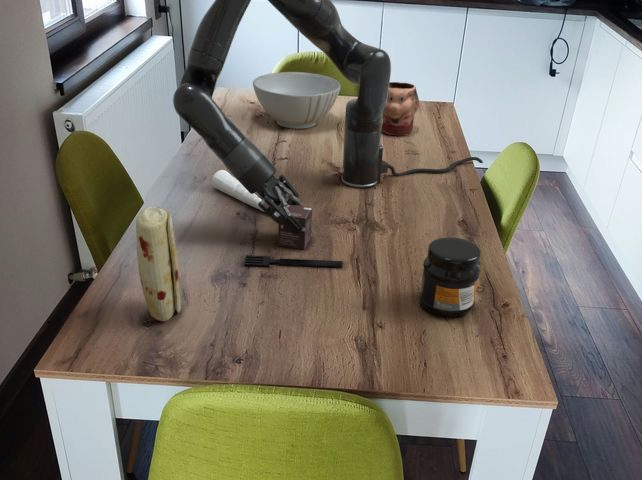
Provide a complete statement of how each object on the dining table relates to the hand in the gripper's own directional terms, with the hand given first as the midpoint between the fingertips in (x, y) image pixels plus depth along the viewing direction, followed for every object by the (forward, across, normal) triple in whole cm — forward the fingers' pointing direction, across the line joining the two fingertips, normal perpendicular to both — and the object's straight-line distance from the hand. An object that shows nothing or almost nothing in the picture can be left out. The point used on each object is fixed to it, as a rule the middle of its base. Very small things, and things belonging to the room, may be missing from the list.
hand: (303, 224), depth 151 cm
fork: (+3, -10, +3) cm, 11 cm away
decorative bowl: (-11, +81, +18) cm, 84 cm away
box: (+2, 0, +4) cm, 5 cm away
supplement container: (+26, -18, -20) cm, 37 cm away
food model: (-10, -34, +16) cm, 39 cm away
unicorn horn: (-9, +18, +16) cm, 26 cm away
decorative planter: (+11, +84, -5) cm, 85 cm away
